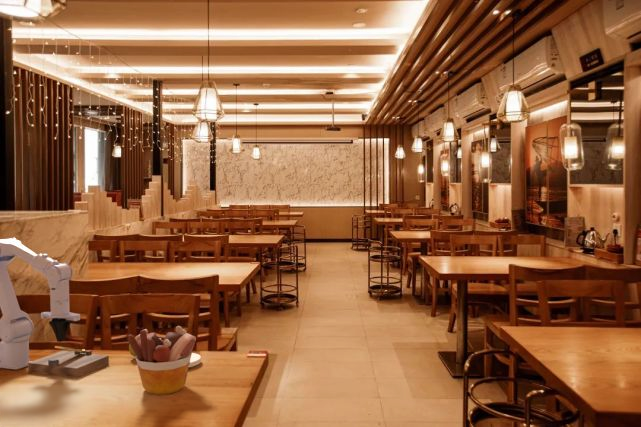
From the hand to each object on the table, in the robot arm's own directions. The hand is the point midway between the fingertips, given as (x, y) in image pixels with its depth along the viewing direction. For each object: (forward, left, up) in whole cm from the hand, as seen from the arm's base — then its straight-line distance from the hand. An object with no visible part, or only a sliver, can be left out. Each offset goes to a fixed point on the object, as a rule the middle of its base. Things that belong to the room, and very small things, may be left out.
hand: (60, 341), depth 186 cm
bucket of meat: (+43, -5, -10) cm, 45 cm away
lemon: (+15, +20, -10) cm, 27 cm away
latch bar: (0, +4, -5) cm, 6 cm away
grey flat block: (0, +3, -10) cm, 11 cm away
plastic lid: (+34, +18, -11) cm, 40 cm away
